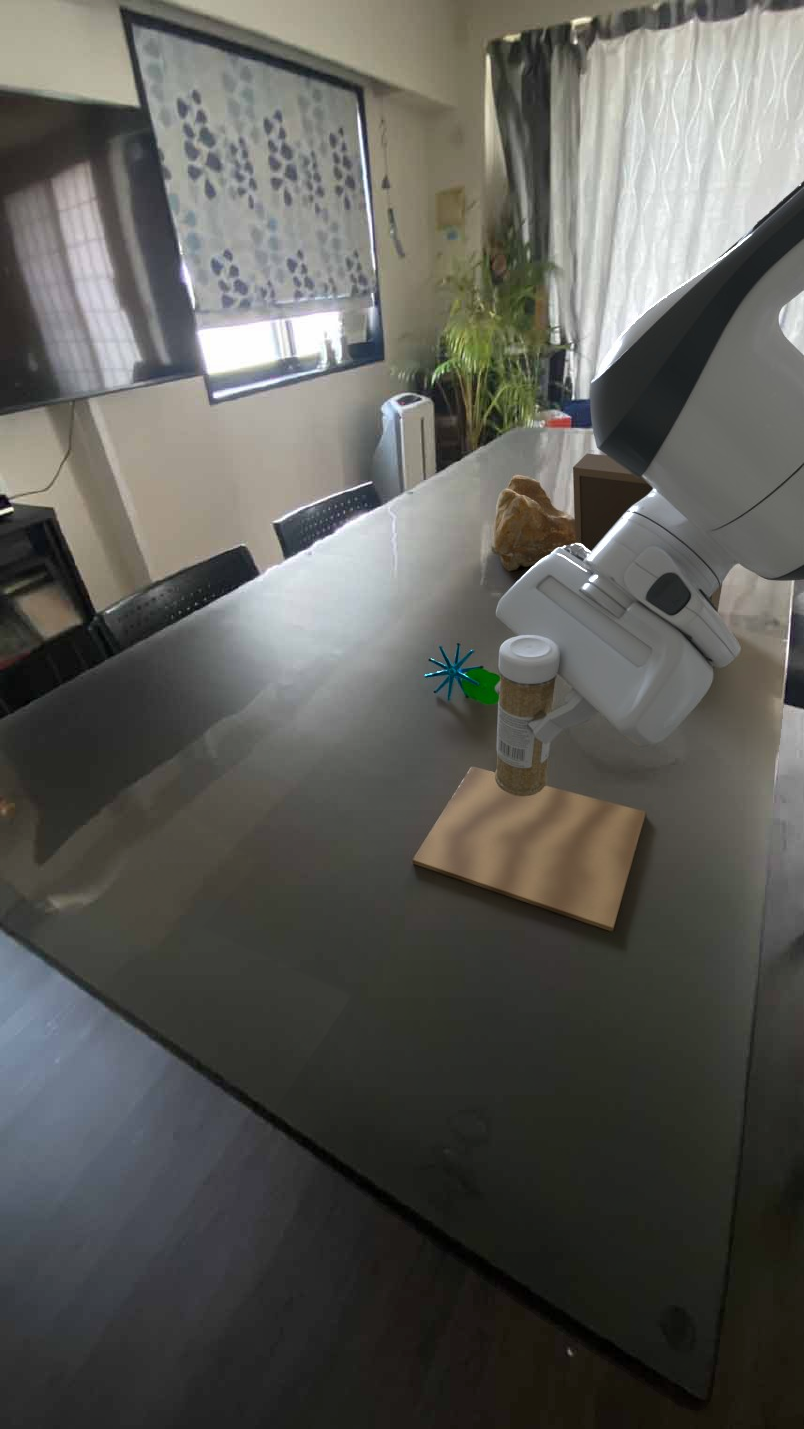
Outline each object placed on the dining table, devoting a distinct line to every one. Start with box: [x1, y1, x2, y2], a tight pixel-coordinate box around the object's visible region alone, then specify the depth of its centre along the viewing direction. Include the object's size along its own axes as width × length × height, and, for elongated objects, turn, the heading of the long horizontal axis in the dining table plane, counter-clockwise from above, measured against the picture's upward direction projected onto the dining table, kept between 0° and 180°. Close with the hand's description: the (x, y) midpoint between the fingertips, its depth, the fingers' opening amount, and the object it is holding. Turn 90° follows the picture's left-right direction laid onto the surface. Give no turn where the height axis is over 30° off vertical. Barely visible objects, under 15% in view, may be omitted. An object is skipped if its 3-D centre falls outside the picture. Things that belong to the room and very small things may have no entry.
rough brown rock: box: [491, 474, 575, 572], centre depth 124 cm, size 23×17×15 cm
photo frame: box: [572, 453, 724, 614], centre depth 96 cm, size 15×22×25 cm
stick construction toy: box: [423, 642, 501, 706], centre depth 90 cm, size 12×7×8 cm
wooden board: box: [412, 766, 647, 933], centre depth 67 cm, size 20×16×1 cm
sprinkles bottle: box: [495, 635, 560, 796], centre depth 52 cm, size 5×5×13 cm
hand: (518, 716), depth 52 cm, fingers closed on sprinkles bottle, 4 cm apart
